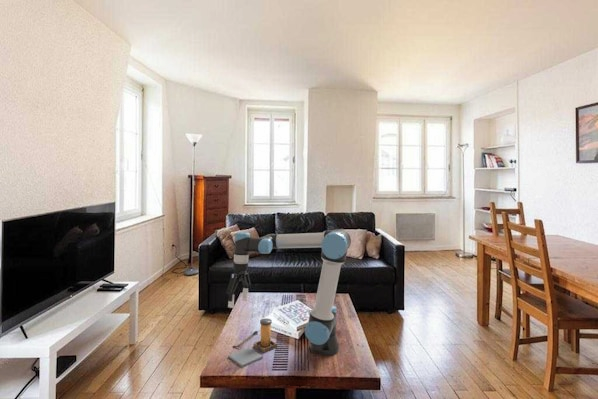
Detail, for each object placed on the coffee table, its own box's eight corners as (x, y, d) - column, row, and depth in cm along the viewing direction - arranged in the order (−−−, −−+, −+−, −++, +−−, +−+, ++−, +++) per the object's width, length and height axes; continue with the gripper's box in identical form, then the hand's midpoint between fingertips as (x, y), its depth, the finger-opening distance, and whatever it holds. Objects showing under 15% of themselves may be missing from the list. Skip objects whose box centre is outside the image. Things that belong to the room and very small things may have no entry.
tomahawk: (242, 352, 167) (242, 350, 167) (231, 348, 170) (232, 346, 170) (265, 335, 186) (265, 333, 185) (255, 332, 189) (255, 330, 189)
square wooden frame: (277, 347, 171) (277, 343, 171) (264, 352, 165) (264, 349, 165) (266, 341, 178) (266, 337, 178) (253, 346, 172) (253, 343, 172)
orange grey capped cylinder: (273, 347, 171) (273, 321, 171) (264, 350, 167) (264, 324, 167) (266, 343, 176) (266, 317, 175) (257, 346, 172) (257, 320, 171)
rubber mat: (262, 358, 160) (262, 356, 160) (242, 367, 152) (242, 365, 152) (248, 349, 169) (248, 347, 169) (228, 357, 160) (228, 355, 160)
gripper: (246, 258, 181) (244, 296, 180) (220, 265, 157) (217, 309, 157) (258, 260, 178) (256, 299, 178) (234, 267, 155) (230, 311, 154)
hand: (238, 303), depth 167 cm, fingers open, 13 cm apart
